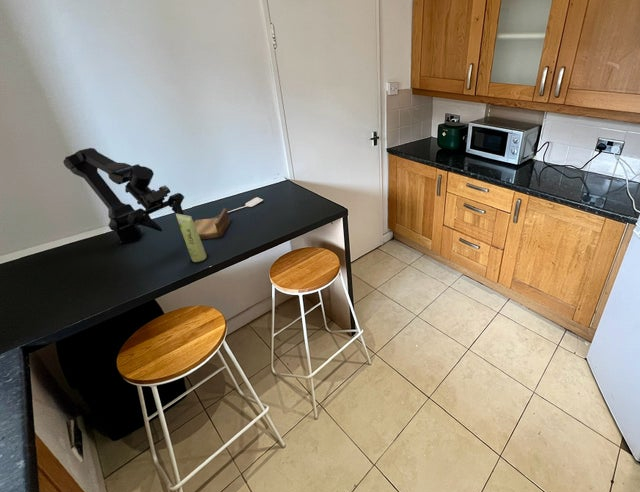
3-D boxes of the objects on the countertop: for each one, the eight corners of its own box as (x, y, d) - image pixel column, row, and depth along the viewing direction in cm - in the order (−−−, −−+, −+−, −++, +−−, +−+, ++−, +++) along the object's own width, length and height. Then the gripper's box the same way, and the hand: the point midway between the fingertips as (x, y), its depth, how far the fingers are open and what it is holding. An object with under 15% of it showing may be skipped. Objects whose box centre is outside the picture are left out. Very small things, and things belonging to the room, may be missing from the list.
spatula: (264, 202, 166) (263, 199, 165) (207, 225, 144) (206, 222, 143) (257, 199, 169) (256, 196, 168) (200, 221, 147) (199, 218, 147)
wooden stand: (186, 240, 132) (180, 226, 129) (197, 224, 145) (193, 211, 141) (222, 237, 135) (217, 223, 132) (230, 221, 147) (226, 208, 144)
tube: (189, 264, 118) (172, 219, 109) (191, 256, 122) (175, 213, 113) (206, 260, 120) (191, 216, 111) (207, 253, 124) (193, 210, 115)
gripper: (119, 191, 104) (153, 226, 106) (173, 173, 120) (202, 203, 121) (113, 209, 110) (146, 241, 112) (165, 189, 126) (193, 217, 127)
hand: (173, 224), depth 118 cm, fingers open, 9 cm apart
